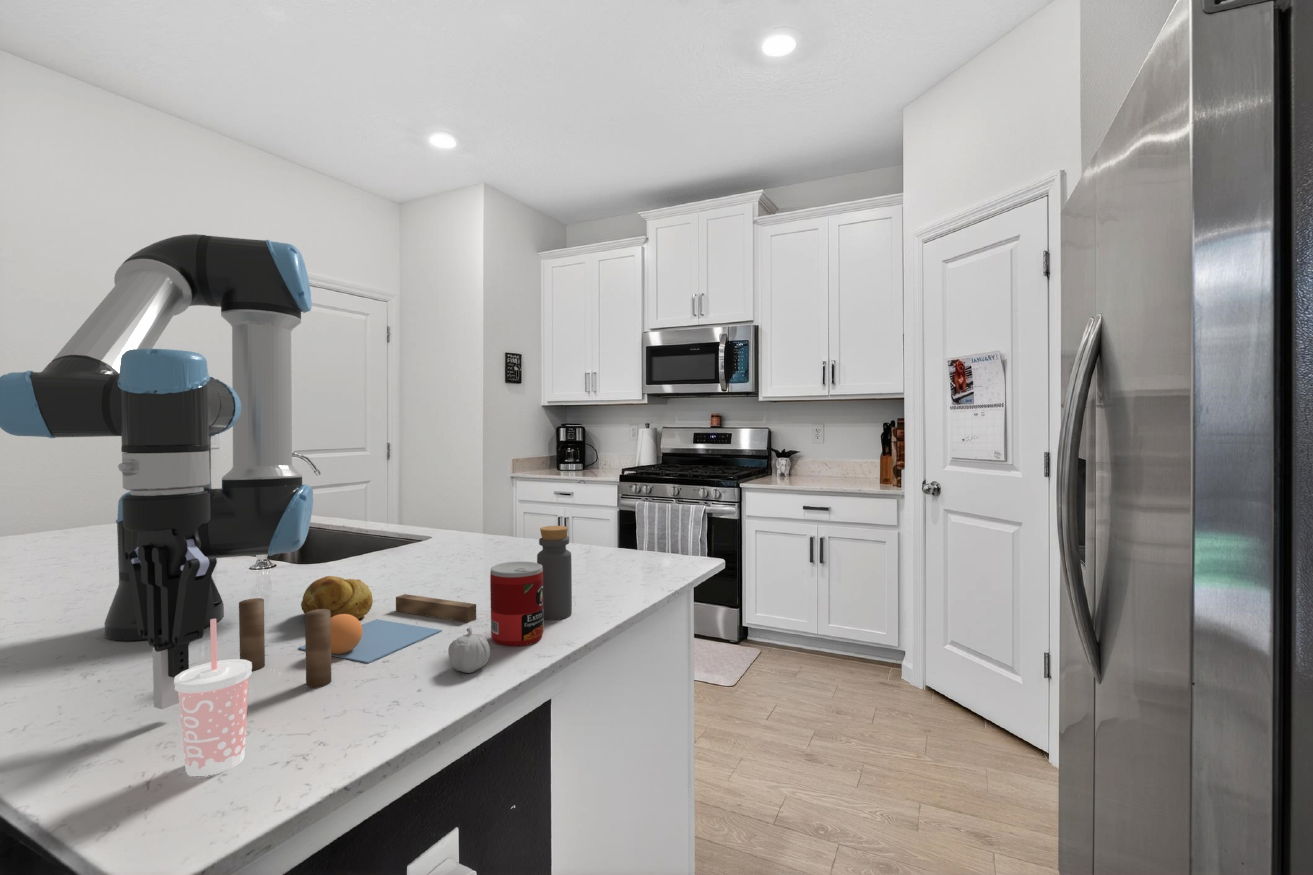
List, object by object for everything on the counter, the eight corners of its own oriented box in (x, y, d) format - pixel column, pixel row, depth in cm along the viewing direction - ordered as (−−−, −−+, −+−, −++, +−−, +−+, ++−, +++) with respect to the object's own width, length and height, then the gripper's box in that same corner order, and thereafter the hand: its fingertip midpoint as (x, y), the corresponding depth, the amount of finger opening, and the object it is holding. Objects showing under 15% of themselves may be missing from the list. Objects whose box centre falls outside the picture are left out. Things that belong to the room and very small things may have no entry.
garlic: (457, 659, 84) (457, 622, 84) (496, 660, 83) (495, 623, 83) (440, 678, 78) (440, 638, 78) (482, 678, 77) (481, 638, 77)
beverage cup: (159, 773, 56) (156, 625, 56) (226, 741, 62) (224, 606, 62) (203, 787, 54) (200, 633, 54) (268, 753, 60) (266, 613, 60)
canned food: (531, 649, 87) (531, 574, 87) (481, 645, 89) (480, 571, 89) (551, 631, 95) (550, 562, 95) (504, 628, 97) (503, 560, 96)
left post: (235, 669, 80) (234, 602, 80) (256, 662, 83) (255, 597, 83) (248, 672, 79) (247, 605, 79) (269, 665, 82) (268, 599, 82)
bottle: (530, 617, 102) (529, 529, 102) (549, 607, 107) (548, 524, 107) (560, 621, 100) (559, 531, 99) (578, 611, 105) (577, 526, 105)
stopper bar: (395, 611, 106) (395, 596, 106) (404, 607, 108) (404, 594, 107) (468, 622, 99) (468, 607, 99) (476, 618, 101) (476, 604, 101)
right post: (300, 685, 75) (299, 614, 75) (321, 676, 78) (320, 607, 78) (316, 689, 74) (315, 616, 74) (336, 680, 77) (335, 610, 77)
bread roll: (287, 618, 102) (287, 571, 102) (345, 604, 110) (344, 561, 110) (324, 633, 95) (324, 582, 95) (383, 617, 103) (382, 570, 103)
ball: (321, 607, 86) (350, 616, 91) (303, 646, 84) (334, 654, 88) (348, 612, 84) (376, 621, 88) (330, 652, 82) (361, 660, 86)
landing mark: (298, 648, 88) (298, 647, 88) (376, 620, 101) (376, 619, 101) (368, 663, 82) (368, 661, 82) (441, 631, 95) (441, 629, 95)
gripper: (92, 492, 65) (97, 706, 66) (163, 497, 60) (168, 730, 61) (170, 485, 72) (174, 680, 73) (240, 489, 67) (244, 698, 68)
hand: (171, 702), depth 67 cm, fingers closed
